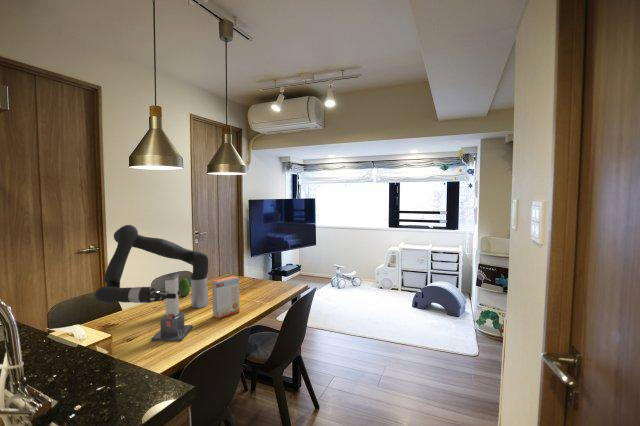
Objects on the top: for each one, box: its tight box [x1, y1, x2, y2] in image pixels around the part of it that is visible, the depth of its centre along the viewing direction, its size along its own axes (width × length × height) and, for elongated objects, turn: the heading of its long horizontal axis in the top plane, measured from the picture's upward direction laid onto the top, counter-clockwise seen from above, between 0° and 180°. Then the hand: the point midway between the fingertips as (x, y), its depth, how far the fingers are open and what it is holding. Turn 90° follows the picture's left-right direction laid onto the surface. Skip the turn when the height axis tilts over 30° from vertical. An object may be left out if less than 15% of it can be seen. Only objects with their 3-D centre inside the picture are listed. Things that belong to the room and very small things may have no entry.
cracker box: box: [211, 275, 241, 320], centre depth 174 cm, size 14×6×21 cm, turn 134°
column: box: [163, 272, 180, 317], centre depth 148 cm, size 6×4×24 cm
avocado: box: [178, 278, 191, 297], centre depth 206 cm, size 8×8×12 cm
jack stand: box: [150, 311, 193, 342], centre depth 149 cm, size 14×14×10 cm
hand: (177, 294), depth 148 cm, fingers closed on column, 4 cm apart
